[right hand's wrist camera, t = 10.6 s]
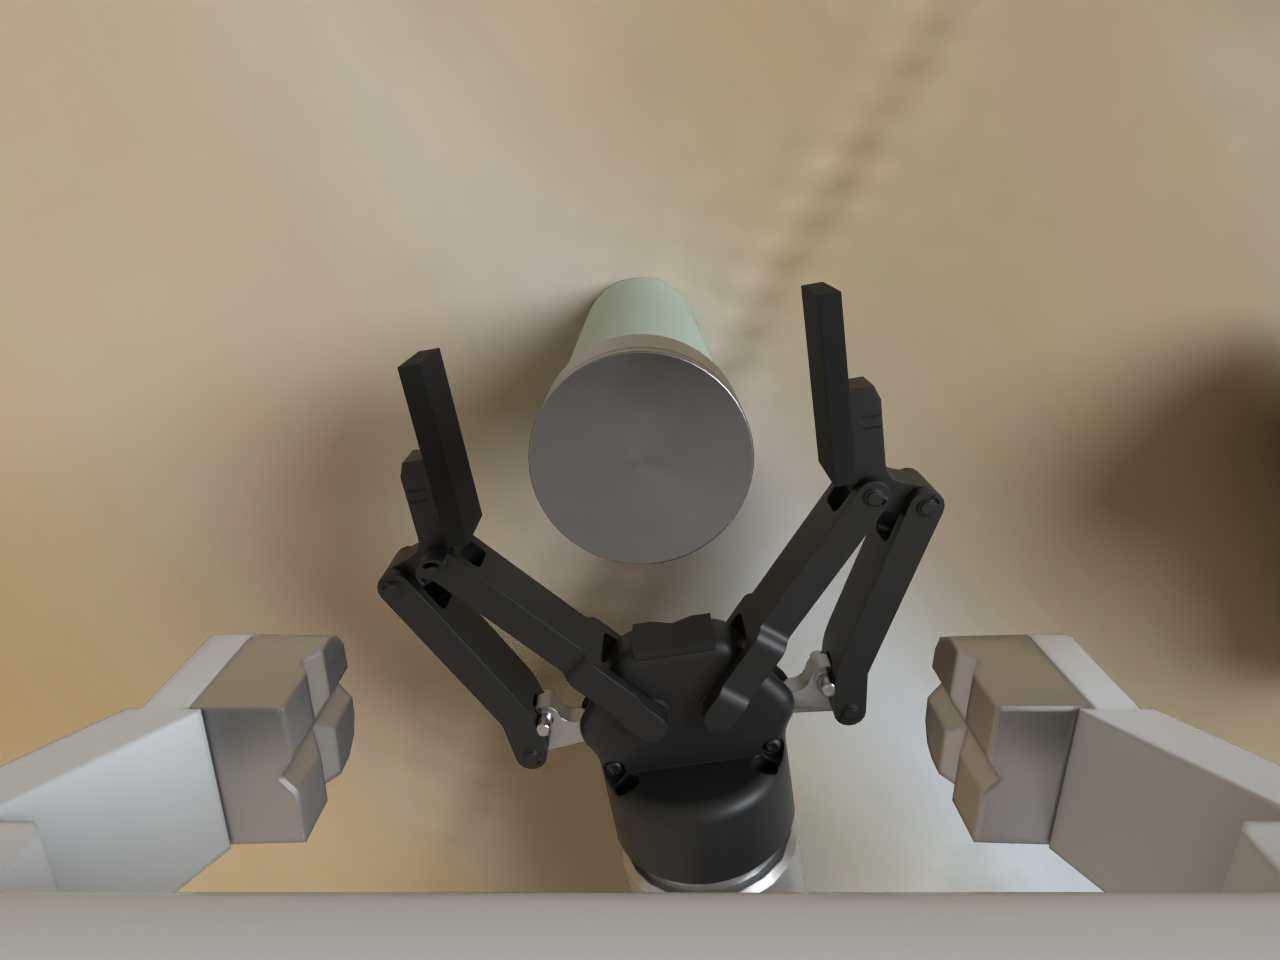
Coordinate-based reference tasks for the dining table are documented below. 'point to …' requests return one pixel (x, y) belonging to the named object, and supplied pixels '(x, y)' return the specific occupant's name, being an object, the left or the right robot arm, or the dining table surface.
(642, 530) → the lid
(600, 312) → the bottle
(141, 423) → the dining table surface
